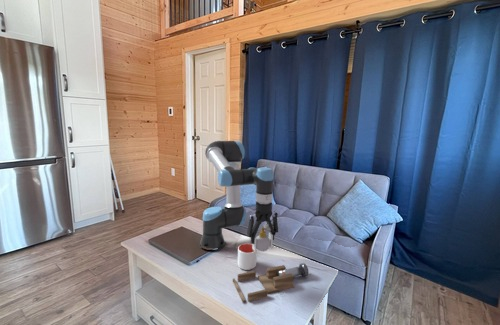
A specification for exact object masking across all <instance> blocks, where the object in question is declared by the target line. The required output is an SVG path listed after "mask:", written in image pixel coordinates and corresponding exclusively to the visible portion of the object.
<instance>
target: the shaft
mask: <svg viewBox="0 0 500 325" xmlns="http://www.w3.org/2000/svg"><path fill="white" fill-rule="evenodd" d="M286 274H292V275H293V278H294V277H299V276H301V277H304V278H306V277H307V276H309V268H308V266H307V265H306V263H304V262H303V263H299V265H298V266H296V267H290V268H286V269H285V270H280V271H278V272H277V276H282V275H286Z"/></svg>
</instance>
